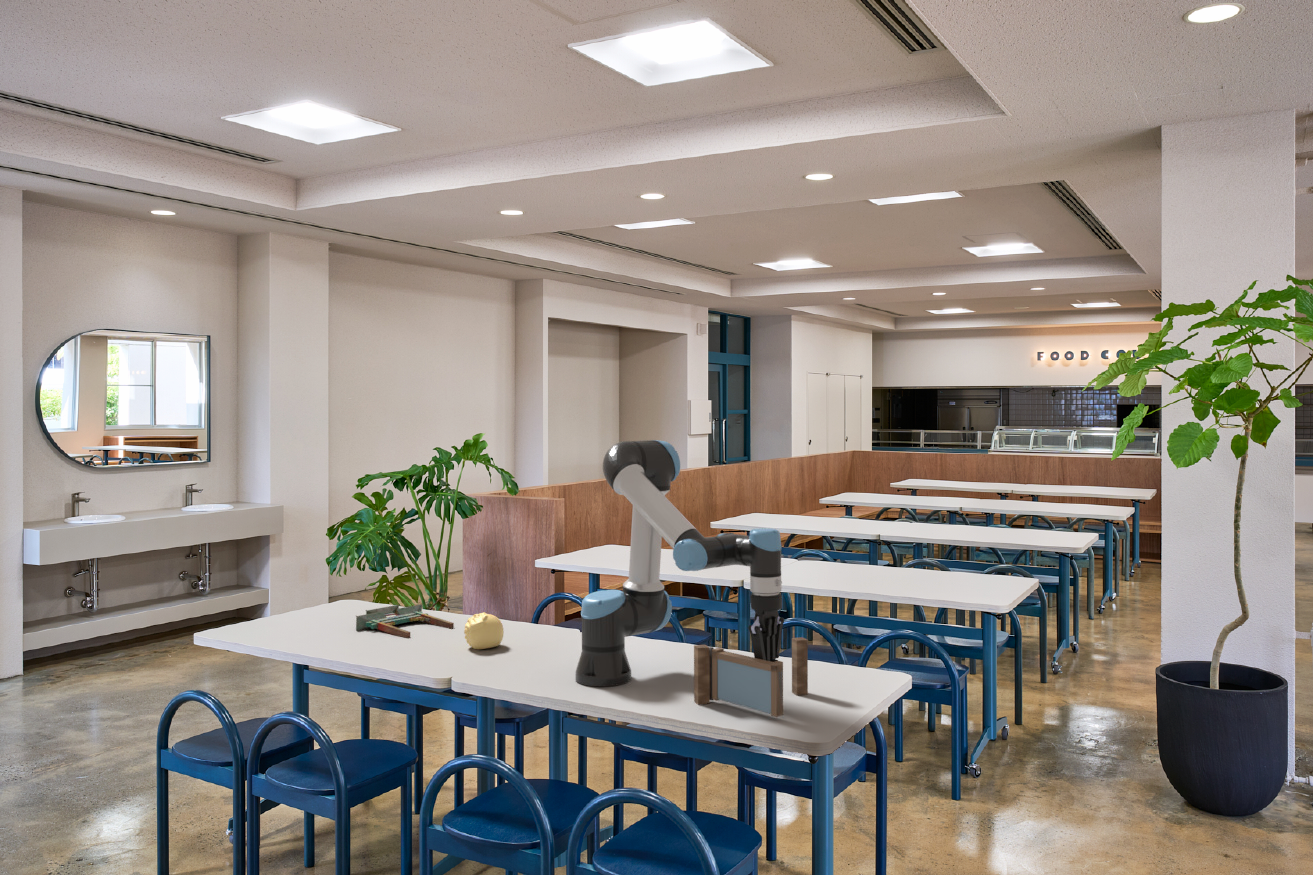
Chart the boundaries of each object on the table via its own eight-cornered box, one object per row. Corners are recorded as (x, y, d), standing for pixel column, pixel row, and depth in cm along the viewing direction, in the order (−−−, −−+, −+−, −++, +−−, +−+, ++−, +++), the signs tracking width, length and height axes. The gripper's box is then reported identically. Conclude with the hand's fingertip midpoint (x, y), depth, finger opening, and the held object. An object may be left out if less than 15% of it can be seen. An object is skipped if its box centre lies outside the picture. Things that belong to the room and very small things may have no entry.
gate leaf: (712, 699, 236) (712, 649, 235) (719, 697, 237) (719, 647, 237) (776, 716, 221) (776, 663, 221) (783, 714, 223) (783, 661, 223)
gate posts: (698, 704, 235) (697, 648, 235) (694, 701, 238) (693, 645, 238) (807, 694, 243) (807, 639, 243) (802, 691, 246) (802, 637, 246)
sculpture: (462, 644, 300) (462, 610, 300) (501, 641, 303) (501, 608, 303) (465, 653, 289) (465, 617, 289) (505, 650, 292) (505, 615, 292)
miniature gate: (396, 629, 306) (343, 611, 325) (396, 646, 306) (343, 627, 325) (463, 616, 327) (409, 599, 346) (462, 632, 327) (409, 614, 346)
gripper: (765, 598, 224) (766, 698, 224) (793, 590, 234) (794, 686, 234) (738, 595, 228) (739, 693, 229) (767, 587, 238) (768, 681, 239)
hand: (767, 689), depth 231 cm, fingers closed
